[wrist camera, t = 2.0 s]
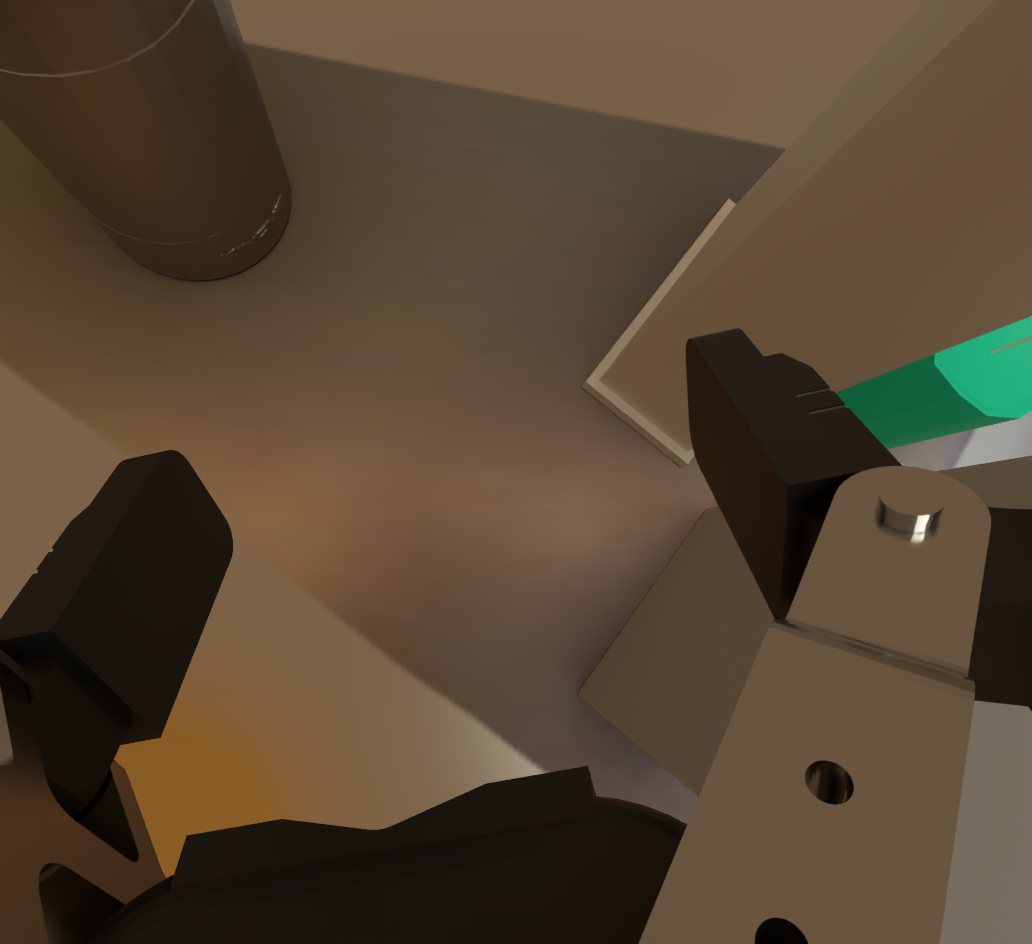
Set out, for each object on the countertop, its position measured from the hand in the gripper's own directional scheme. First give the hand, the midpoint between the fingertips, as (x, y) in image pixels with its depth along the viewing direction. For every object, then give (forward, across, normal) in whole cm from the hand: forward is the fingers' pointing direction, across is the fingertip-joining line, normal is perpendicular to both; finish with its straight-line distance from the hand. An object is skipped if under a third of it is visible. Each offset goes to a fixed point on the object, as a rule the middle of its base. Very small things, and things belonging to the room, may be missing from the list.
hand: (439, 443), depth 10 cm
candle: (+22, -18, +18) cm, 34 cm away
